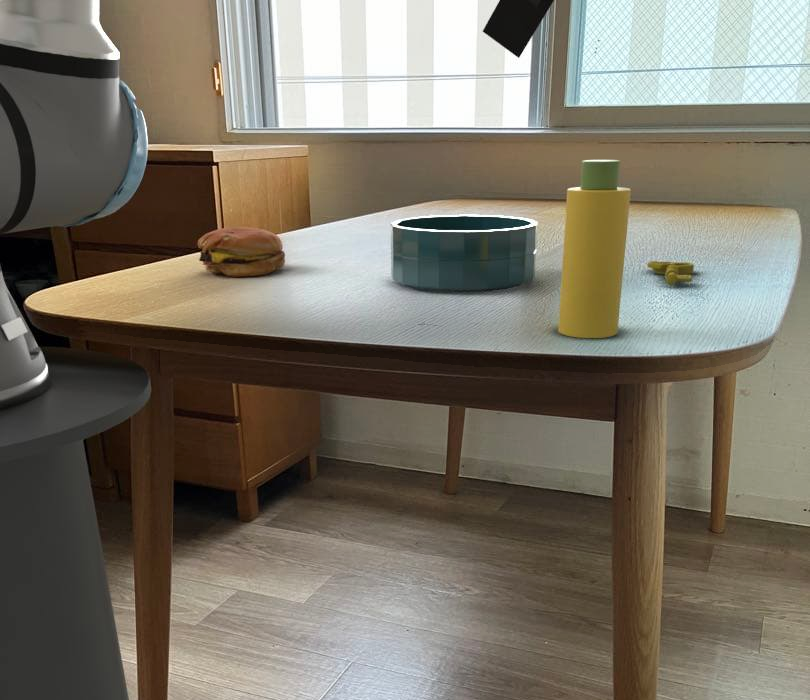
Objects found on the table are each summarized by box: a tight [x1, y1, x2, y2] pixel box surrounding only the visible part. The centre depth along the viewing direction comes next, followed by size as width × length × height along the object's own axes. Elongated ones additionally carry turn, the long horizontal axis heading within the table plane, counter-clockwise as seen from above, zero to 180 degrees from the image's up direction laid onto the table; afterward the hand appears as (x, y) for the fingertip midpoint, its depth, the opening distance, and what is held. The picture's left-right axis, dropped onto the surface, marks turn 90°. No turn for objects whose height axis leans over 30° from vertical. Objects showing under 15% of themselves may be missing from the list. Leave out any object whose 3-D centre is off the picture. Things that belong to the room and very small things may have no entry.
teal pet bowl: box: [390, 214, 538, 294], centre depth 94 cm, size 15×15×6 cm
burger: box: [196, 226, 286, 278], centre depth 102 cm, size 10×9×5 cm
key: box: [646, 260, 695, 286], centre depth 96 cm, size 12×1×5 cm
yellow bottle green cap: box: [557, 159, 632, 339], centre depth 70 cm, size 5×5×13 cm
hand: (527, 2), depth 58 cm, fingers open, 13 cm apart
